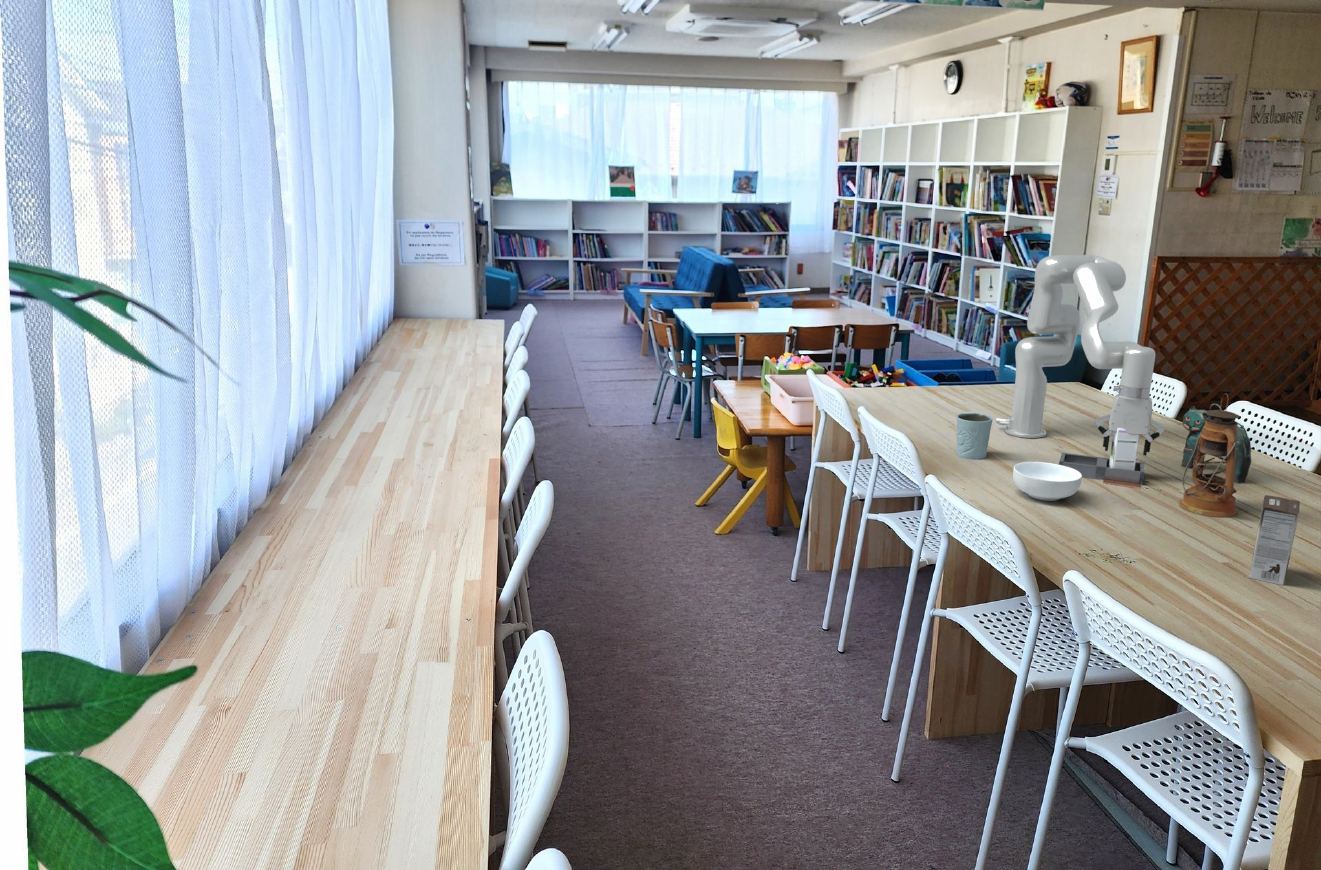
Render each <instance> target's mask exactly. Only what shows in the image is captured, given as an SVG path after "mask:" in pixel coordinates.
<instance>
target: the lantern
mask: <svg viewBox="0 0 1321 870" xmlns="http://www.w3.org/2000/svg"><path fill="white" fill-rule="evenodd" d="M1225 395H1226V397H1227V402H1226V406H1225V410H1223V409H1222V404H1223V399H1224V396H1225ZM1228 405H1229V394H1228V393H1223V395H1222V397H1221V401H1220V408H1219V409H1209V410H1210V411H1209V410H1206V412H1205V413H1206V414H1207V415H1208V419H1206V420H1205V425H1204V427H1203V429H1202V431H1201V433H1200V435H1199V437H1198V440H1197V442H1196V447H1195V449H1194V451H1193V454H1192V456H1191V458H1190V460H1189V462H1188V464H1187V466H1186V467H1185V469H1184V471H1183V475H1182V488H1183V490H1184V492H1183V498H1182V499H1180V501H1179V502H1178V506H1179V507H1180V508H1181V509H1183V510H1185V511H1186V512H1190V513H1193V514H1196V515H1200V516H1206V517H1213V518H1215V517H1216V518H1231V517H1235V516H1236V515H1238V511H1237V508H1236V507H1235V505H1236V497H1235V496H1234V495H1233V494H1236V493H1237V491H1238V490H1237V489H1236V488H1234V486H1235V482H1234V475H1235V466H1236V464H1235V459H1236V443H1237V441H1238V439H1237V438H1236V435H1237V425H1238V424H1237V422H1238V421H1236V419H1239V418H1240V414H1237V413H1235V412H1231V411H1227V409H1228ZM1235 421H1236V422H1235ZM1197 446H1199V447H1198V451H1197V455H1196V456H1195V458H1194V459H1193V464H1194V465H1193V466H1194V467H1193V468H1191V469H1192V474H1191V476H1192V481H1193V484H1194V486H1191V487H1188V488H1185V476H1186V473H1187V470H1188V469H1189V468H1188V466H1189V464H1190V462H1191V460H1192V458H1193V457H1194V454H1195V451H1196V449H1197ZM1206 455H1208V456H1212V457H1211V458H1210V459H1208V460H1205V457H1206ZM1216 458H1218V459H1219V460H1221V461H1219V460H1218V461H1217V460H1216V461H1215V459H1216ZM1212 460H1214V461H1212ZM1194 461H1195V462H1194ZM1216 464H1218V465H1217V467H1216V468H1215V470H1214V472H1210V473H1204V469H1205V470H1206V469H1207V465H1216ZM1222 464H1225V469H1224V470H1220V471H1218V469H1219V467H1220V466H1221V465H1222ZM1224 472H1225V478H1224V477H1222V476H1218V474H1221V473H1224Z"/></svg>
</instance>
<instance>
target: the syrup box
mask: <svg viewBox="0 0 1321 870" xmlns="http://www.w3.org/2000/svg"><path fill="white" fill-rule="evenodd" d="M1139 438H1140V435H1135V434H1129V433H1126V430H1125V429H1123V428H1118V429H1117V432H1112V439H1111V448H1110V454H1109V455H1110V456H1109V458H1110V461H1109V468H1117V469H1125V470H1133V471H1135V463H1136V462H1137V455H1138V448H1139V447H1138V446H1139Z"/></svg>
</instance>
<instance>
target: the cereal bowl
mask: <svg viewBox="0 0 1321 870" xmlns="http://www.w3.org/2000/svg"><path fill="white" fill-rule="evenodd" d="M1082 478H1083V477H1082V475H1081V473H1080V472H1078V471H1077V470H1075V469H1072V468H1069V467H1066V466H1062V465H1059V463H1058V464H1057V463H1050V462H1045V461H1044V462H1043V461H1042V462H1041V461H1022V462H1019V463H1016V464H1014V466H1013V471H1012V480H1013V482H1014V484H1015V485H1016V487H1017V488H1018V489H1019V490H1021V491H1022V492H1024V493H1025V494H1027V495H1028V497H1030V498H1033V499H1036V500H1040V501H1045V502H1047V501H1048V502H1049V501H1050V502H1051V501H1052V502H1053V501H1054V502H1055V501H1058V500H1060V499H1065V498H1068V497H1070V496H1073V495H1074V494H1076V493H1077V492H1078V491H1079V489H1080V486H1081V484H1082Z"/></svg>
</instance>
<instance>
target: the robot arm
mask: <svg viewBox="0 0 1321 870" xmlns="http://www.w3.org/2000/svg"><path fill="white" fill-rule="evenodd" d="M1126 280H1127V275H1126V271H1125V269H1124V268H1123V267H1122V265H1121V264H1119V263H1117V261H1114V260H1113V261H1112V260H1109V259H1107V258H1104V257H1101V256H1098V255H1094V254H1057V255H1056V254H1055V255H1049V256H1048V255H1047V256H1046V257H1044V258H1042V259H1040V261H1039V262H1038V263H1037V265H1036V267H1035V272H1034V290H1033V295H1032V298H1031V304H1030V307H1029V312H1028V316H1027V322H1026V323H1027V325H1026V326H1027V330H1028V331H1029V332H1030V333H1031V334H1035V335H1042V336H1032V337H1025V338H1022V339H1021V340H1020V341H1018V343H1017V344H1016V346H1015V352H1014V354H1015V355H1014V357H1015V381H1014V391H1013V399H1012V408H1011V416H1010V417H1007V418H1003V417H1002V418H1001V417H997V418H996V424H998V425H999V426H1005V428H1004V432H1005V433H1006V434H1008V435H1010V436H1013V437H1017V438H1018V437H1019V438H1025V439H1041V438H1044V437H1046V436H1047V431H1046V430H1045V428H1043V419H1044V410H1045V403H1046V393H1047V388H1048V387H1047V385H1048V379H1047V376H1046V375H1045V373H1044V370H1043V368H1045V367H1046V368H1047V367H1062V366H1066V364H1068V363H1069V362H1070V361H1071V359H1072V356H1073V353H1074V349H1075V346H1076V341H1077V338H1078V334H1079V330H1080V325H1081V315H1080V312H1079V310H1078V308H1077V307H1076V306H1075V305H1073V304H1072V303H1062V300H1063V297H1064V290H1063V287H1062V285H1063V284H1074V286H1075V289H1076V291H1077V294H1078V296H1079V298H1080V302H1081V305H1082V307H1083V309H1084V312H1085V314H1086V318H1085V321H1084V323H1083V326H1082V329H1081V334H1080V335H1081V336H1080V341H1081V342H1080V344H1081V346H1082V349H1083V352H1084V354H1085V357H1086V359H1087V361H1088V363H1089V364H1090V365H1091V366H1092V367H1094V368H1095V369H1098V370H1116V369H1117V370H1118V369H1119V370H1120V369H1121V375H1120V382H1119V384H1118V385H1114V386H1113V389H1112V391H1113V392H1117V394H1116V395H1115V396H1114V398H1113V402H1112V406H1111V410H1110V413H1109V414H1107V415H1103V416H1101V417H1097V418H1095V420H1094V422H1095V425H1096V427H1097V429H1098V431H1099V432H1100V433H1101V434H1102V435H1103V441H1102V447H1103V448H1104V451H1105V452H1107V451H1108V450H1109V443H1110V438H1111V437H1110V435H1111V434H1113V432H1117V429H1118V428H1123V429H1125V430H1126V433H1129V434H1135V435H1139V436H1144V438H1145V440H1144V446H1143V451H1142V453H1143V456H1145V457H1146V456H1147V453H1150V452H1151V447H1152V446H1151V444H1152V442H1153V441H1154V440H1156V439H1158V438H1159V437H1160V435H1161V434H1162V433H1163V432H1164V430H1165V429H1166V427H1165V426H1164V425H1163V424H1161V423H1160V422H1158V421H1156V420H1154V419H1153V418H1152V417H1153V416H1152V415H1153V398H1152V397H1150V394H1151V389H1152V388H1151V387H1152V381H1153V374H1154V367H1155V361H1156V360H1155V359H1156V351H1155V350H1154V349H1153V348H1151V347H1148V346H1143V345H1140V344H1139V343H1137V342H1135V341H1128V340H1127V341H1104V340H1103V338H1102V335H1101V333H1100V330H1099V326H1100V323H1102V322H1103V321H1106V320H1108V319H1110V318H1111V317H1113V316H1115V314H1116V313H1117V312H1118V311H1119V310H1118V309H1119V303H1118V301H1117V299H1116V296H1115V293H1114V292H1117V291H1120V290H1122V289H1123V288H1124V286H1125V285H1126ZM1043 335H1045V336H1043ZM1046 335H1053V336H1046ZM1107 421H1109V422H1108V427H1107V428H1105V427H1104V426H1103V424H1102V423H1104V422H1107ZM1151 426H1153V427H1155V428H1156V431H1154V432H1153V433H1152V434H1151V433H1150V431H1151Z"/></svg>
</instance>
